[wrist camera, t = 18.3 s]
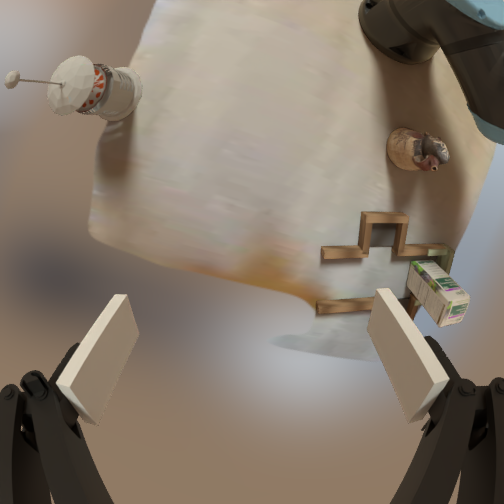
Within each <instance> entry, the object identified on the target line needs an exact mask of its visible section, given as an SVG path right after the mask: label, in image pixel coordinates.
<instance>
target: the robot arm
mask: <svg viewBox="0 0 504 504" xmlns="http://www.w3.org/2000/svg"><path fill="white" fill-rule="evenodd" d="M359 20H360V23H361V26H362V28H363V30H364V32H365V34H366V36H367V37H368V38H369V40H370V41H371V42H372V43H373V44H374V45H375V46H376V47H377V48H378V49H379V50H380V51H381V52H383V53H384V54H385V55H387V56H388V57H390V58H392V59H394V60H396V61H399V62H402V63H406V64H417V63H421V62H424V61H427V60H428V59H430V58H431V57H432V56H433V55H434V54H435V53H436V52H437V50H438V49H439V48H440V47H441V49H442V50H443V52H444V54H445V56H446V58H447V60H448V62H449V64H450V66H451V68H452V70H453V72H454V74H455V76H456V78H457V80H458V82H459V84H460V87H461V89H462V91H463V93H464V96H465V98H466V101H467V106H468V109H469V110H470V112H471V113H472V115H473V118H474V120H475V123H476V125H477V128H478V129H479V131H480V132H481V133H482V134H483V135H484V136H485V137H486V138H488V139H489V140H491V141H493V142H495V143H498V144H502V145H504V1H503V0H363V1H362V3H361V5H360V7H359ZM367 331H368V333H369V335H370V337H371V339H372V342H373V344H374V346H375V348H376V350H377V352H378V354H379V356H380V359H381V361H382V363H383V365H384V367H385V370H386V372H387V374H388V376H389V379H390V381H391V383H392V386H393V388H394V390H395V392H396V395H397V397H398V400H399V402H400V404H401V407H402V410H403V412H404V414H405V417H406V419H407V422H408V423H412V422H415V421H418V420H421V419H423V418H424V416H425V415H426V413H427V412H429V414H430V419H429V420H428V421H427V423H426V424H425V425H424V426H423V428H422V429H421V430H422V431H423V430H424V429H425V431H424V433H423V436H422V439H421V441H420V444H419V446H418V449H417V451H416V453H415V456H414V458H413V460H412V462H411V464H410V466H409V468H408V471H407V473H406V475H405V477H404V479H403V481H402V483H401V484H400V486H399V488H398V490H397V492H396V494H395V496H394V497H393V499H392V501H391V502H390V504H448V503H449V501H450V498H451V496H452V493H453V491H454V488H455V485H456V482H457V479H458V477H459V474H460V471H461V477H460V485H459V492H458V498H457V504H504V379H503V378H500V377H498V378H495V379H493V380H492V381H491V383H490V384H489V386H476V385H475V384H474V383H473V382H472V381H470V380H468V379H461V377H460V376H459V374H458V373H457V371H456V369H455V368H454V366H453V365H452V363H451V362H450V360H449V359H448V357H446V354H445V353H444V351H442V348H441V347H440V345H439V344H438V342H437V341H436V340H434V339H433V338H432V337H430V336H425V337H423V336H422V334H421V333H420V331H419V330H418V328H417V327H416V325H415V324H414V323H413V321H412V319H411V318H410V317H409V315H408V314H407V312H406V311H405V309H404V308H403V307H402V305H401V304H400V303H399V301H398V300H397V298H396V297H395V296H394V294H393V293H392V292H391V290H390V289H389V288H383V289H376V293H375V298H374V302H373V307H372V311H371V315H370V319H369V323H368V327H367ZM138 336H139V331H138V328H137V325H136V322H135V319H134V316H133V313H132V309H131V306H130V303H129V299H128V296H127V295H120V294H115V296H114V297H113V298H112V300H111V301H110V302H109V304H108V305H107V306H106V308H105V309H104V311H103V312H102V313H101V315H100V316H99V317H98V319H97V320H96V322H95V323H94V325H93V326H92V328H91V329H90V330H89V332H88V333H87V335H86V336H85V338H84V339H83V341H82V342H81V343H76V344H75V345H73V346H72V347H71V348H70V349H69V350H68V352H67V353H66V355H65V358H63V359H62V361H61V363H60V364H59V365H58V367H57V368H56V370H55V372H54V373H53V375H52V377H51V378H50V380H49V381H48V382H47V380H46V378H45V377H44V375H43V374H42V373H41V372H40V371H36V370H34V371H30V372H28V373H27V374H25V375H24V376H23V378H22V379H21V382H20V386H21V387H22V389H23V390H24V391H25V392H21V391H20V390H19V388H18V387H17V386H16V385H14V384H9V385H6V386H5V387H4V388H3V389H2V390H1V392H0V504H52V503H51V496H50V492H51V494H52V497H53V500H54V503H55V504H114V503H113V501H112V499H111V498H110V495H109V493H108V491H107V489H106V487H105V485H104V483H103V481H102V479H101V477H100V475H99V473H98V471H97V468H96V466H95V464H94V461H93V459H92V457H91V454H90V452H89V449H88V447H87V444H86V441H85V438H84V436H83V433H82V430H81V427H80V424H79V423H78V421H77V418H78V416H79V415H80V416H81V418H82V419H83V420H84V421H85V422H87V423H90V424H93V425H97V426H98V425H99V423H100V420H101V418H102V416H103V413H104V411H105V408H106V406H107V404H108V401H109V399H110V397H111V394H112V392H113V390H114V387H115V385H116V383H117V381H118V379H119V376H120V374H121V372H122V370H123V368H124V366H125V363H126V361H127V359H128V357H129V355H130V353H131V351H132V349H133V346H134V344H135V342H136V340H137V338H138ZM21 426H22V427H23V430H22V431H21Z"/></svg>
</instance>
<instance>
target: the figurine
mask: <svg viewBox="0 0 504 504" xmlns="http://www.w3.org/2000/svg"><path fill="white" fill-rule="evenodd" d="M387 153H388V156H389V158H390V160H391V161H392V162H393V163H394V164H395V165H396V166H397V167H399V168H401V169H404V170H412V171H415V170H423V171H428V170H432V171H437V170H438V165H440V164H446V163H448V161H449V158H450V156H449V153H448V150H447V147H446V145H445V144H444V143H443V142H442V141H441V139H440V138H439V137H438V138H434V137H432V136H430V135H429V133H427V132H425V135H423V134H422V133H420V132H416V131H414V130H411V129H408V128H403V127H401V128H398V129H396V130H394V131H393V132H392V133H391V134H390V136H389V138H388V141H387Z"/></svg>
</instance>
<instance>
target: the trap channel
mask: <svg viewBox="0 0 504 504" xmlns="http://www.w3.org/2000/svg"><path fill="white" fill-rule="evenodd" d="M408 222H409V216H407V215H406V214H404V213H403V212H361V221H360V231H359V240H358V245H354V246H321V254H322V256H323V258H324V259H337V258H365V257H368V254H369V247H370V246H392V252H394V253H395V254H396V255H397V256H417V255H428V256H437V260H436V264H437V265H438V266H439V267H440V268H442V269H443V270H444V271H445V272H446V273H447V274H448V275H449V273H450V269H451V266H452V262H453V258H454V254H455V251H454V250H452V249H451V248H450V247H448V246H447V245H446V244H405V241H406V235H407V228H408ZM374 298H375V297H367V298H354V299H340V300H324V301H317V302H316V308H317V311H318V314H323V313H337V312H350V311H361V310H372V307H373V302H374ZM397 300H398V301H399V303H400V304H401V305H402V307H403V308H404V309H405V311H406V312H407V314H408V315H409V317H410V318H411V319H412V321H413V320H414V317H415V314H416V311H417V308H418V305H422V304H421V303H420V302H419V300H418V299H417V298H416V297H415V295H414V294H413V293H410V297H409V298H403V299H397Z"/></svg>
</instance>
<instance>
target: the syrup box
mask: <svg viewBox="0 0 504 504" xmlns="http://www.w3.org/2000/svg"><path fill="white" fill-rule="evenodd" d="M407 287H408V288H409V289H410V290H411V292H412V293H413V294H414V295H415V297H416V298H417V299H418V300H419V302H420V303H421V304H422V305H423V307H424V308H425V309H426V310H427V312H428V313H429V314H430V316H431V317H432V318H433V320H434V321H435V322H436V324H437V325H438V327H443V326H448V325H452V324H455V323H460V322H461V321H462V319H463V317H464V315H465V313H466V310H467V307H468V304H469V300H470V296H469V295H468V294H467V293H466V292H465V291H464V290H463V289H462V288H461V287H460V286H459V285H458V284H457V283H456V282H455V281H454V280H453V279H452V278H451V277H450V276H449V275H448V274H447V273H446V272H445V271H444V270H443V269H442V268H440V267H439V266H438V265H437V264H436V263H435V262H434V261H433V260H432V259H430V260H418V261H411V264H410V270H409V275H408V280H407Z"/></svg>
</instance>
